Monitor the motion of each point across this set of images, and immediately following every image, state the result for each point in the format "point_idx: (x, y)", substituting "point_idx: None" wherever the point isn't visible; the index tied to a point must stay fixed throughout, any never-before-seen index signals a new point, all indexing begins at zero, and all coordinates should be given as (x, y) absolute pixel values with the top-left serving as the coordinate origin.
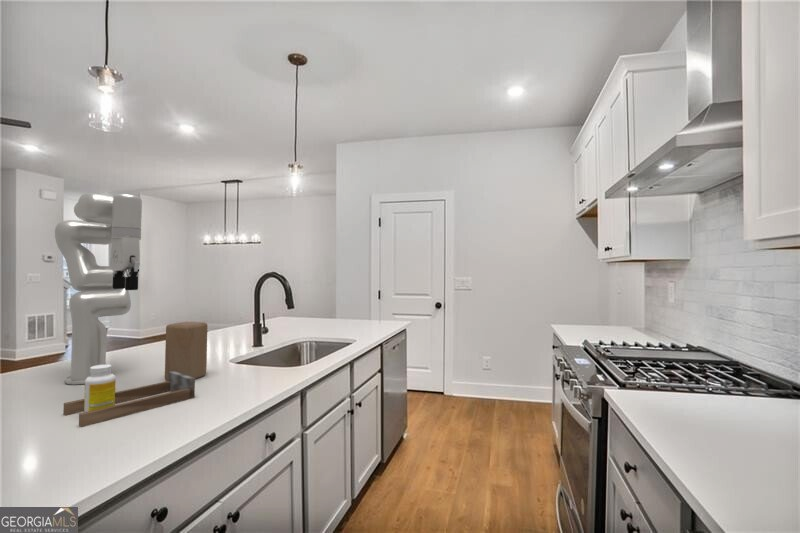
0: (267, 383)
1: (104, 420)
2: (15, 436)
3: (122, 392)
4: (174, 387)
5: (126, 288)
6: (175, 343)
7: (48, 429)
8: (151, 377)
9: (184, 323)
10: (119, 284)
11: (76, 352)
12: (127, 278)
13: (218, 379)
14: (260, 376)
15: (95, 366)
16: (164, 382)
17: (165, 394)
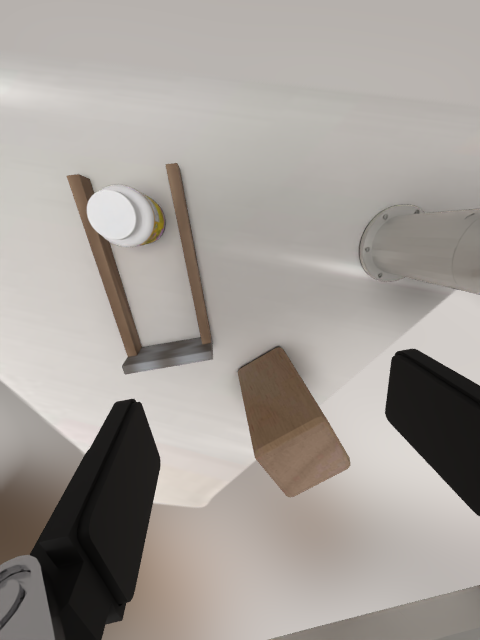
0: None
1: None
2: (91, 77)
3: (186, 265)
4: (187, 343)
5: (114, 411)
6: (277, 401)
7: (99, 132)
8: (318, 333)
9: (309, 459)
10: (416, 409)
11: (439, 217)
12: (61, 524)
13: (220, 408)
14: (191, 456)
15: (118, 204)
16: (205, 335)
17: (117, 319)
